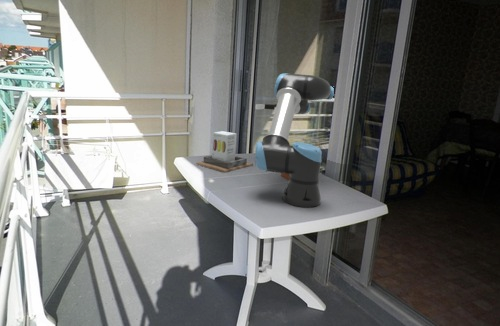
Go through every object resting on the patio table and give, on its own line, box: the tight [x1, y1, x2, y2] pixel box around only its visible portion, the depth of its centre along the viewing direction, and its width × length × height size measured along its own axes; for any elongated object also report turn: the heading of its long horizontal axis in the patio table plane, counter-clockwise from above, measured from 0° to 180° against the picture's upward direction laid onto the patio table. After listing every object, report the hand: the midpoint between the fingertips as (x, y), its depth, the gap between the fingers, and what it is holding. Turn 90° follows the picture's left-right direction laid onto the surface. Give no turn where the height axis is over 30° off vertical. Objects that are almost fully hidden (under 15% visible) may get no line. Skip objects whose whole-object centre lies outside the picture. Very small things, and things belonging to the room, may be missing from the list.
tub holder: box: [195, 154, 254, 174], centre depth 188 cm, size 24×20×4 cm
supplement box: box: [211, 130, 238, 162], centre depth 185 cm, size 10×9×17 cm
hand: (265, 108), depth 182 cm, fingers open, 13 cm apart
